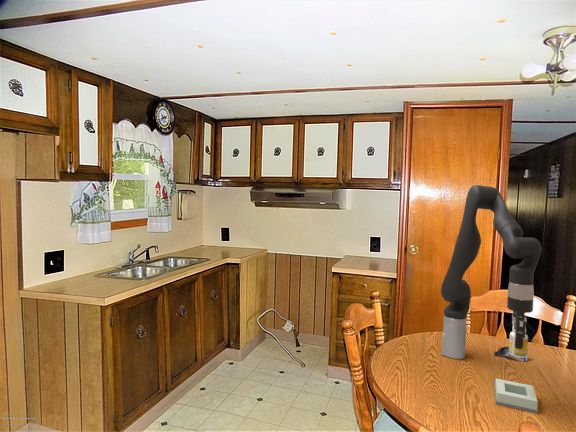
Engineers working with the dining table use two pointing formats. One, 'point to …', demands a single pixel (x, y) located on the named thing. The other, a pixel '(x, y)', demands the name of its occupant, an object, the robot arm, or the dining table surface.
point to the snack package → (505, 351)
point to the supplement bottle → (515, 351)
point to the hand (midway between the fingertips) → (517, 344)
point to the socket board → (515, 395)
